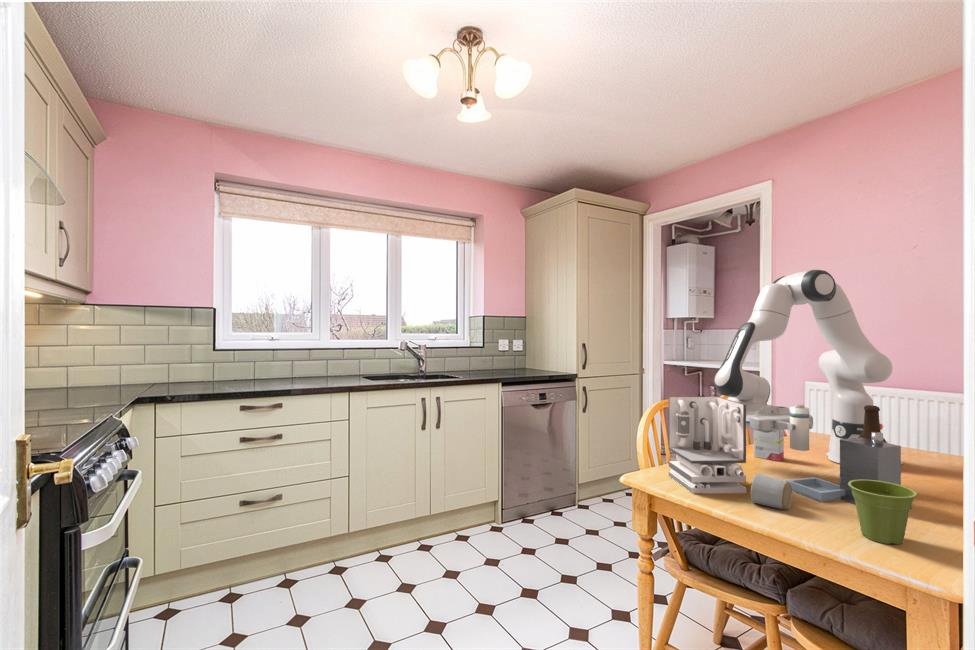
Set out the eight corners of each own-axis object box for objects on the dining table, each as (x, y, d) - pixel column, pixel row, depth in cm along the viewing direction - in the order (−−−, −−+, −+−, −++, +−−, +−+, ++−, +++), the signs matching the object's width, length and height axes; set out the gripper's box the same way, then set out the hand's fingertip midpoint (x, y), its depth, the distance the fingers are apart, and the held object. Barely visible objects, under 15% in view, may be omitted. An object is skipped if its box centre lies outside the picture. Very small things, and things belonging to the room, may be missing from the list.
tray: (815, 485, 143) (815, 477, 143) (852, 498, 132) (852, 489, 132) (785, 488, 140) (785, 480, 140) (821, 502, 129) (821, 492, 129)
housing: (860, 492, 137) (860, 425, 137) (911, 508, 124) (911, 435, 124) (830, 495, 134) (830, 427, 134) (879, 513, 121) (879, 438, 121)
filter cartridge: (798, 446, 144) (798, 403, 144) (813, 450, 140) (813, 405, 140) (785, 447, 143) (785, 404, 143) (800, 451, 138) (800, 406, 138)
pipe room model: (717, 475, 152) (717, 396, 152) (753, 497, 133) (753, 406, 133) (668, 476, 151) (668, 396, 152) (697, 498, 132) (697, 407, 132)
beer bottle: (857, 482, 146) (857, 402, 146) (890, 488, 140) (890, 406, 140) (852, 488, 140) (852, 405, 140) (887, 495, 135) (887, 409, 135)
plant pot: (844, 523, 115) (844, 476, 115) (909, 534, 109) (909, 484, 109) (852, 542, 105) (852, 490, 105) (923, 555, 99) (923, 500, 99)
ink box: (784, 459, 171) (784, 426, 171) (779, 462, 167) (779, 427, 167) (758, 454, 177) (758, 422, 177) (753, 457, 174) (753, 424, 174)
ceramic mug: (785, 514, 121) (785, 483, 121) (749, 505, 127) (750, 476, 127) (796, 503, 128) (796, 475, 129) (762, 496, 134) (762, 468, 134)
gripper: (736, 409, 151) (773, 417, 138) (788, 406, 156) (829, 414, 143) (736, 429, 151) (773, 439, 138) (789, 426, 156) (829, 435, 143)
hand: (802, 426), depth 140 cm, fingers closed on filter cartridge, 5 cm apart
